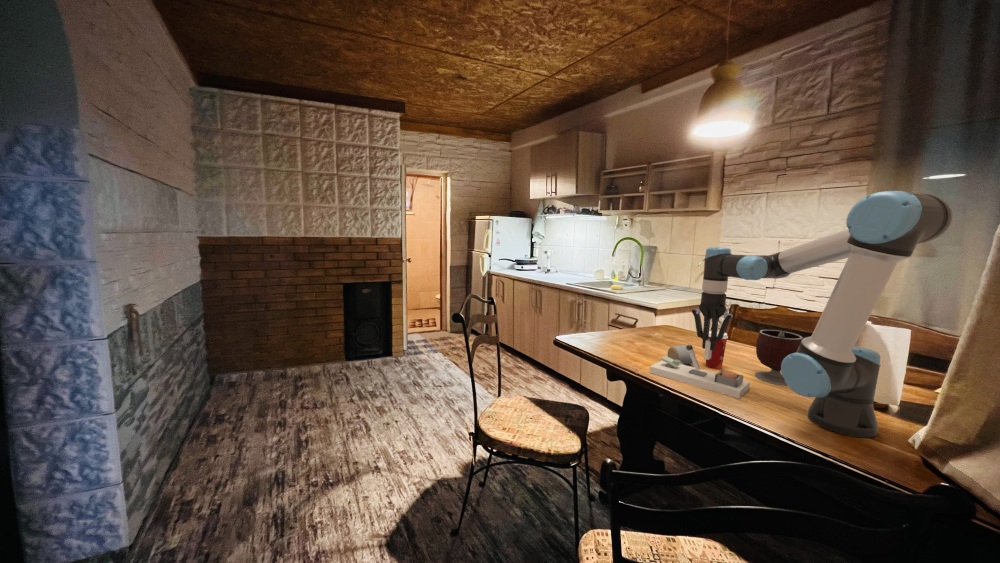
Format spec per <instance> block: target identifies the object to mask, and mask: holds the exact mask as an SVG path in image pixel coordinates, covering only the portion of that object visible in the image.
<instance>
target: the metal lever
mask: <svg viewBox="0 0 1000 563" xmlns="http://www.w3.org/2000/svg"><path fill="white" fill-rule="evenodd" d="M686 345H687V346H686V349H687V350H688V352H689V354H690V357H691V359H692V362H693V364H694V368H695V369H696V370H700V369H701V366H700V365H699V363H698V360H697V356H696V353H695V354H694V352H695V351H694V352H693V349H694V348H693V347H694V346H693V345H692V344H686ZM693 364H692V365H693Z"/></svg>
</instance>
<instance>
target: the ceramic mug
mask: <svg viewBox="0 0 1000 563" xmlns="http://www.w3.org/2000/svg"><path fill="white" fill-rule="evenodd" d="M687 345H688V344H685V345H684V344H683V345H675V346H670V347H669V348H668V350H667V357H669V358H671V359H674V360H676V359H677V360H679V361H680V364H682V365H689V366H690V367H694V364H693V362H692V359H691V357H690V354H689V352H688V350H687V349H686V346H687ZM693 352H694V354H695V355H696V353H695V349H694V348H693ZM694 368H695V367H694Z"/></svg>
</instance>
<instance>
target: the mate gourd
mask: <svg viewBox="0 0 1000 563" xmlns="http://www.w3.org/2000/svg"><path fill="white" fill-rule="evenodd" d="M802 339H803V336H801V335H800V334H797V333H793V332H789V331H783V330H777V329H760V330H759V333H758V336H757V338H756V344H755V351H756V357H757V359H758V361H759V362H760V363H761V364H762V365H763V366H765V367H767V368H769V369H770V371H756V372H755V373H754V374H755V375H754V376H755V377H756V379H758V380H760V381H762V382H765V383H769V384H771V385H772V384H773V385H777V386H786V387H789V386H788V385H787V384H786V382H785V379H784V377H782V373H781V364H782V361H783V359H784V358H785V357H786V356H788V355H790V354H792V353H796V352H797V350H798V347H799V345H800V343H801V341H802Z"/></svg>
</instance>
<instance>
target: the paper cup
mask: <svg viewBox="0 0 1000 563" xmlns="http://www.w3.org/2000/svg"><path fill="white" fill-rule="evenodd" d="M719 331H720V330H717V336H718V333H719ZM728 338H729V336H728V333H726V332H725V333H724V336H723V338H722V340H720V341H716V345H715V350H713V351H712V354H711V359H709V360H707V359H705V367H707V368H709V369H713V370H722V367H723V363H724V358H725V353H726V347H727V340H728ZM708 339H709V340H711V330H709V338H708Z"/></svg>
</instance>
